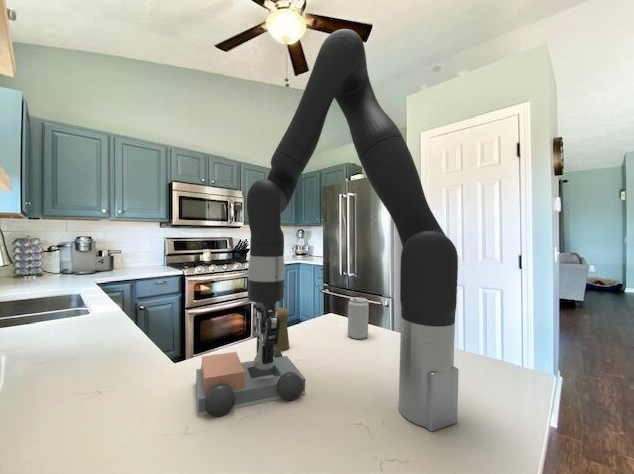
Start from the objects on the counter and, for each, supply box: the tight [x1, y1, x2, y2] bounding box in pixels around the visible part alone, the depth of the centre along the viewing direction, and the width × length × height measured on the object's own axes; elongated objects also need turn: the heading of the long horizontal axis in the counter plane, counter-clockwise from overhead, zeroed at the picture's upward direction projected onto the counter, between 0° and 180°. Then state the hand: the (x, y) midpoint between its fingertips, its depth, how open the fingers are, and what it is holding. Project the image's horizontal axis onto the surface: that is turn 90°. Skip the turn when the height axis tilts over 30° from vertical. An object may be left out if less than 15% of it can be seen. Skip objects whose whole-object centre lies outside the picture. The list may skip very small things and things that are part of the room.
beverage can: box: [347, 296, 370, 340], centre depth 94 cm, size 6×6×12 cm
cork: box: [274, 307, 290, 353], centre depth 83 cm, size 6×6×11 cm
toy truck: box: [195, 347, 306, 418], centre depth 61 cm, size 15×20×6 cm
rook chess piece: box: [253, 327, 275, 370], centre depth 62 cm, size 4×4×8 cm
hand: (264, 357), depth 62 cm, fingers closed on rook chess piece, 4 cm apart
